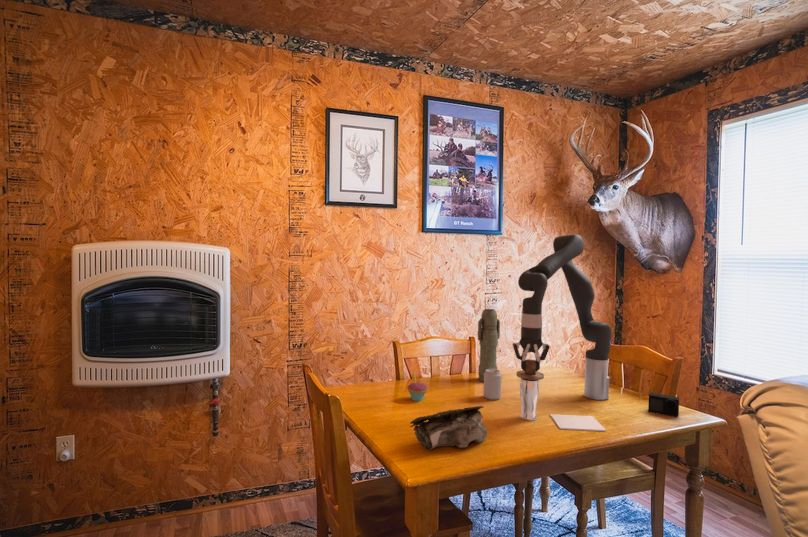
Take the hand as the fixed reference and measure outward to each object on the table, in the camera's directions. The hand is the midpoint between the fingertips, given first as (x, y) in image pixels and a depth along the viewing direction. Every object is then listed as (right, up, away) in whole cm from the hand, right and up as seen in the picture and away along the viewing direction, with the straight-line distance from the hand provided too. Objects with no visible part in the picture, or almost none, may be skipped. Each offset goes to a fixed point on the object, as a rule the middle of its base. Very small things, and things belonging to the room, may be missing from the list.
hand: (530, 370), depth 172 cm
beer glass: (0, -18, +1) cm, 18 cm away
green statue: (-7, -17, +52) cm, 55 cm away
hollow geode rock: (-33, -19, -25) cm, 45 cm away
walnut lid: (0, -2, 0) cm, 2 cm away
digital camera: (+56, -20, +9) cm, 60 cm away
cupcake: (-42, -17, +20) cm, 49 cm away
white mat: (+16, -19, -4) cm, 25 cm away
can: (-10, -18, +24) cm, 31 cm away
